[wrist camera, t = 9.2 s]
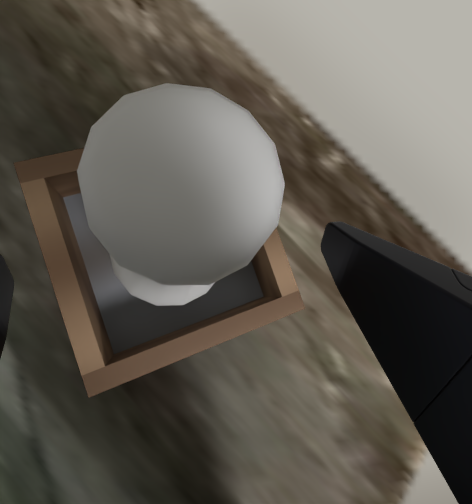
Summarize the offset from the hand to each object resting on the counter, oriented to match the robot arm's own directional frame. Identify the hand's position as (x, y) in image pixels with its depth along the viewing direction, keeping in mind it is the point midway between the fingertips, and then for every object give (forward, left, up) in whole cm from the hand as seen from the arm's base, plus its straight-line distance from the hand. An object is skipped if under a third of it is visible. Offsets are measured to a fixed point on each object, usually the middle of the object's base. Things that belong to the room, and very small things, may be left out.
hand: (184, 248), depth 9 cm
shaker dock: (+1, 0, -10) cm, 10 cm away
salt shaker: (+1, 0, -10) cm, 10 cm away
